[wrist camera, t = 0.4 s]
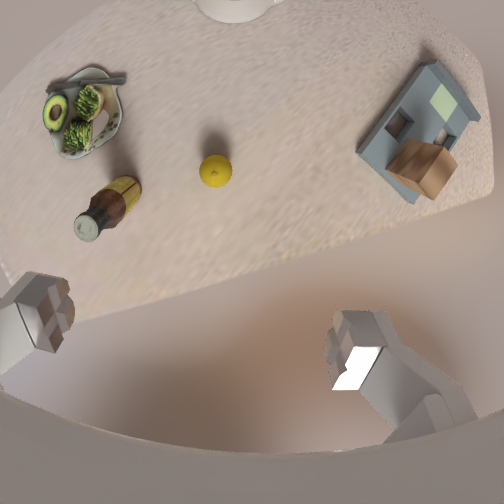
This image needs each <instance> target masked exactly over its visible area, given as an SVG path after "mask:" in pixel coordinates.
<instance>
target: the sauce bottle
mask: <svg viewBox="0 0 504 504" xmlns="http://www.w3.org/2000/svg"><path fill="white" fill-rule="evenodd" d="M140 195H141V187H140V184H139V182H138V180H136V179H135V178H134V177H131V176H123V177H120V178H117V179H116V180H114V181H113V182H111V183H110V184H109V185H107V186H106V187H104V188H103V189H102V190H100V191H99V192H98V193H97V194H96V195H94V196H93V197H92V198H91V202H90V206H89V209H88V210H87V211H86V212H83V213H81V214H80V215H79V216H78V217H77V218H76V220H75V222H74V231H75V234H76V235H77V237H78V238H79V239H80V240H82V241H84V242H92V241H94V240H95V239H96V238H97V237H98V236H99V235H100V233H101V231H102V230H103V229H107V228H114V227H116V225H117V224H118V223H119V222H120V221H121V220H122V219H123V218H124V217H125V216H126V215H127V213H128V212H129V211H130V210H131V209H132V208H133V207H134V206H135V205H136V204H137V202H138V201H139V198H140Z"/></svg>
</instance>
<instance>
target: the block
mask: <svg viewBox="0 0 504 504" xmlns="http://www.w3.org/2000/svg"><path fill="white" fill-rule="evenodd" d="M457 166H458V164H457V163H456V161H455V160H454V159H453V157H452V156H451V155H450V153H449V152H448V151H447V149H446V148H445V147H443V146H439V145H435V144H430V143H426V142H421V141H416V140H411V139H407V140H406V141H405V143H404V144H403V145H402V147H401V148H400V150H399V151H398V152H397V154H396V155H395V156H394V158H393V159H392V161H391V162H390V163H389V165H388V166H387V167H386V169H385V170H386V171H387V172H388V173H389V174H390V175H391V176H392V177H393V178H394V179H395V180H396V181H397V182H398V183H399V184H401V185H403V186H405V187H407V188H409V189H412V190H414V191H416V192H418V193H420V194H422V195H424V196H426V197H428V198H429V199H431V200H433V201H434V200H435V198H436V197H437V195H438V194H439V193H440V191H441V190H442V188H443V187H444V185H445V184H446V183H447V181H448V180H449V178H450V177H451V175H452V174H453V172H454V171H455V169H456V168H457Z"/></svg>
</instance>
